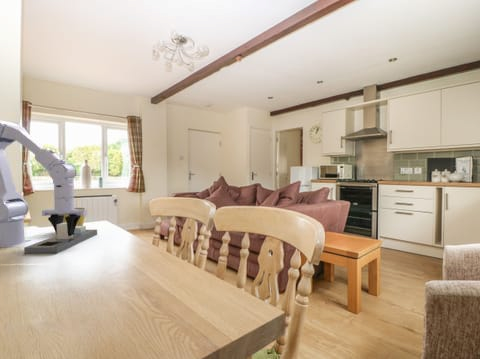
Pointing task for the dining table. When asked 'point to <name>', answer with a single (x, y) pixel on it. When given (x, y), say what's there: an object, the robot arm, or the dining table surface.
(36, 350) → the dining table surface
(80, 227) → the white cube
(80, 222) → the plant pot
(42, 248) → the grey slotted board
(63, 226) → the plug
